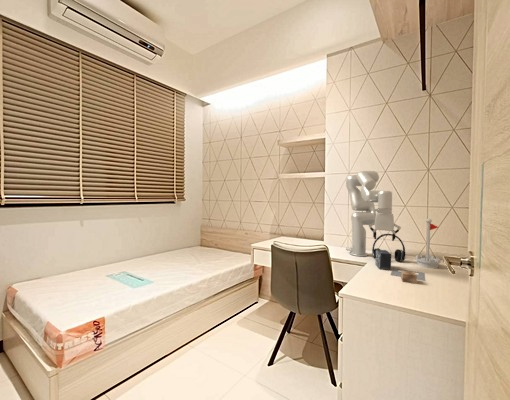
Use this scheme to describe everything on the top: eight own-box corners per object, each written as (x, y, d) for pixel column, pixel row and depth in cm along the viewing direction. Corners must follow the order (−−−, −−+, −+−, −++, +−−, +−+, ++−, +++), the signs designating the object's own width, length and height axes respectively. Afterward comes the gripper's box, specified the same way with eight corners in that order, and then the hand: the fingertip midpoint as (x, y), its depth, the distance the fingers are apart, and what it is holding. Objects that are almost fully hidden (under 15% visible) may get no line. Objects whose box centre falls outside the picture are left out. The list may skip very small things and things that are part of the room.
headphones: (374, 261, 168) (374, 234, 168) (371, 258, 175) (371, 232, 175) (406, 263, 165) (407, 235, 165) (401, 260, 172) (402, 233, 171)
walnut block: (402, 283, 127) (402, 273, 127) (401, 279, 133) (401, 270, 133) (416, 285, 125) (416, 275, 125) (414, 281, 130) (414, 272, 130)
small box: (391, 271, 146) (392, 253, 146) (379, 270, 148) (380, 253, 147) (386, 266, 157) (386, 249, 156) (374, 265, 158) (375, 249, 158)
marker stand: (415, 266, 158) (416, 218, 157) (415, 261, 169) (416, 217, 168) (440, 269, 151) (442, 220, 150) (439, 264, 162) (441, 218, 161)
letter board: (390, 276, 138) (390, 275, 138) (392, 269, 151) (392, 267, 151) (425, 282, 129) (425, 281, 129) (424, 273, 143) (424, 272, 143)
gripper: (368, 211, 153) (367, 239, 153) (401, 212, 143) (400, 242, 144) (370, 210, 159) (369, 237, 159) (401, 211, 150) (400, 240, 150)
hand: (384, 239), depth 151 cm, fingers open, 9 cm apart
